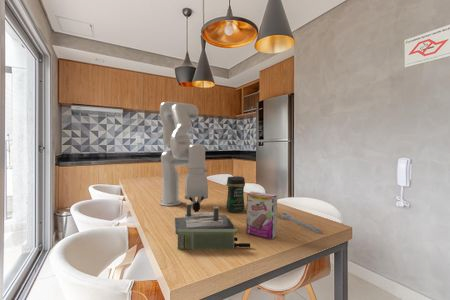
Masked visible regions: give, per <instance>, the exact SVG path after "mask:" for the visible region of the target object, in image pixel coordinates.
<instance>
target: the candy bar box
mask: <svg viewBox="0 0 450 300" xmlns="http://www.w3.org/2000/svg"><path fill="white" fill-rule="evenodd" d="M277 215H278V195H277V194H272V193H264V192H259V191H250V192H247V194H246V225H245V226H246V230H245V231H246V234H248V235H252V236H256V237H260V238H263V239H268V240H273V239H274V238H275V237H277V223H278V222H277V221H278V220H277V218H278V217H277Z"/></svg>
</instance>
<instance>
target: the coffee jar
mask: <svg viewBox="0 0 450 300" xmlns="http://www.w3.org/2000/svg"><path fill="white" fill-rule="evenodd" d="M226 185H227V198H226V199H227V200H226V205H225V206H226V211H227V212H229V213H240V212H242V213H243V212H244V211H245V198H244V196H245V195H244V191H245V185H246V179H245V177H243V176H241V175H240V176H239V175H237V176H228V177H227V181H226Z"/></svg>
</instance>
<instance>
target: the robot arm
mask: <svg viewBox="0 0 450 300" xmlns="http://www.w3.org/2000/svg"><path fill="white" fill-rule="evenodd" d="M159 117H160V120H161V124H162V143H163V147H165V148H167V149H170V150H165V151H163V152H161V155H160V162H161V170H162V172H161V173H162V178H161V179H162V182H161V183H162V185H161V187H162V188H161V189H162V191H161V194H162V195H161V198H162V199H161V200H160V201H159V205H161V206H165V207H169V206H170V207H172V206H177V205H178V206H179V205H180V204H182V200H181V199H179V196H180V195H179V192H180V189H179V188H180V187H179V186H180V185H179V184H180V183H179V181H180V180H179V179H180V174H179V172H178V170H177V169H176V167H186V166H188V169H187V171H188V173H187V174H186V176H185V185H184V200H188V201H190V202H191V203H192V210H193V211H194V213H200V212H199V210H200V209H201V202H202V201H203V200H206V199H208V198H209V195H208V193H209V186H208V185H209V184H208V177H207V173H206V172H208V171H209V168H206V167H205V166H206V146H205V145H204V144H203V143H201V144H200V143H191V139H190V136H189V134H188V133H190V132H191V130H192V129H193V124H192V122H191V121H195V120H197V119H198V117H199V109H198V107H197V106H196V105H195V104H192V103H187V102H186V103H184V102H177V101H164V102H161V104H160V106H159ZM196 197H197V200H196Z"/></svg>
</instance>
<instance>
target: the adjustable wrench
mask: <svg viewBox="0 0 450 300" xmlns="http://www.w3.org/2000/svg"><path fill="white" fill-rule="evenodd" d="M278 217H279V218H280V219H282V220H286V221H291V222H293V223H295V224H297V225H298V226H301V227H303V228H305V229H307V230H309V231H311V232H313V233H315V234H322V229H320V228H318V227H316V226H313V225H312V224H309V223H307V222H304V221H302V220H300V219H298V218H296V217H294V216H293V215H292V214H291V213H290V212H282V213H279V215H278Z"/></svg>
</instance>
